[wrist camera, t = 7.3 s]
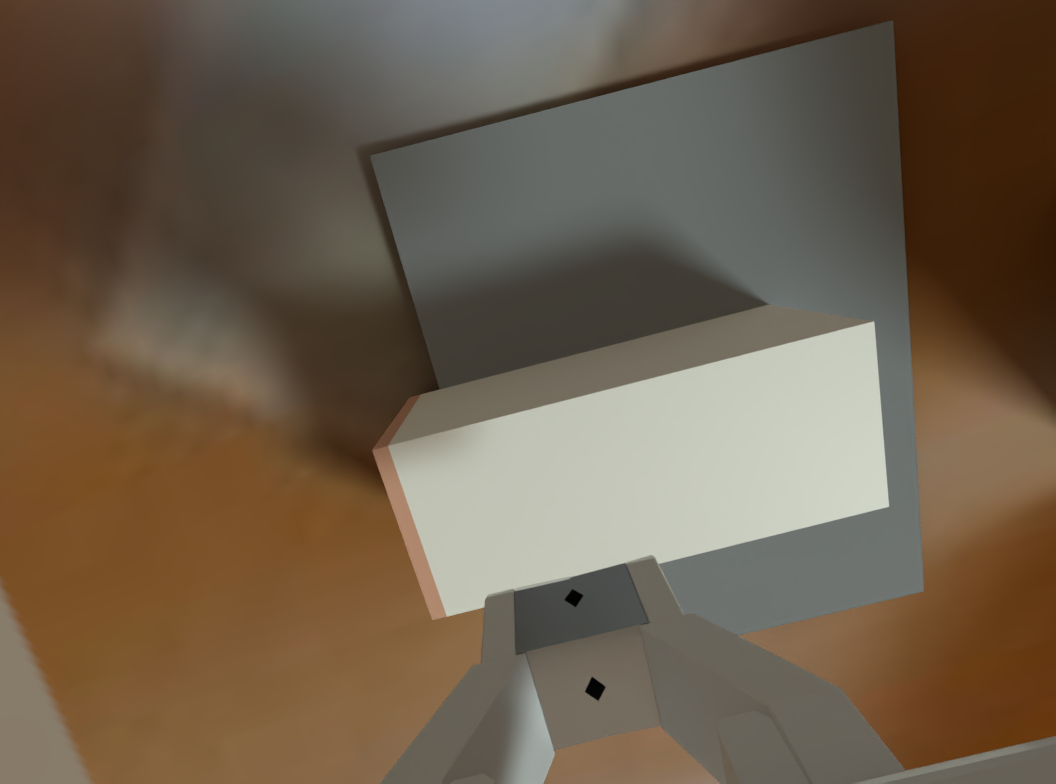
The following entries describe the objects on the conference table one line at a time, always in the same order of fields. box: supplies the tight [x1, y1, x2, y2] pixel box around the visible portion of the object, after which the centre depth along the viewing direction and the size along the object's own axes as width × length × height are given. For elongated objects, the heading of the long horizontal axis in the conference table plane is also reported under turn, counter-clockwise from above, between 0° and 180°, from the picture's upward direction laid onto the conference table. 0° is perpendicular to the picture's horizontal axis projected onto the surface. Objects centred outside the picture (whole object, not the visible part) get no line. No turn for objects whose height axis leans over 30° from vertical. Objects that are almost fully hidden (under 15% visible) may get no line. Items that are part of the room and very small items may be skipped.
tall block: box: [372, 305, 889, 620], centre depth 15 cm, size 5×5×12 cm
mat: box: [370, 20, 924, 635], centre depth 18 cm, size 20×16×1 cm
